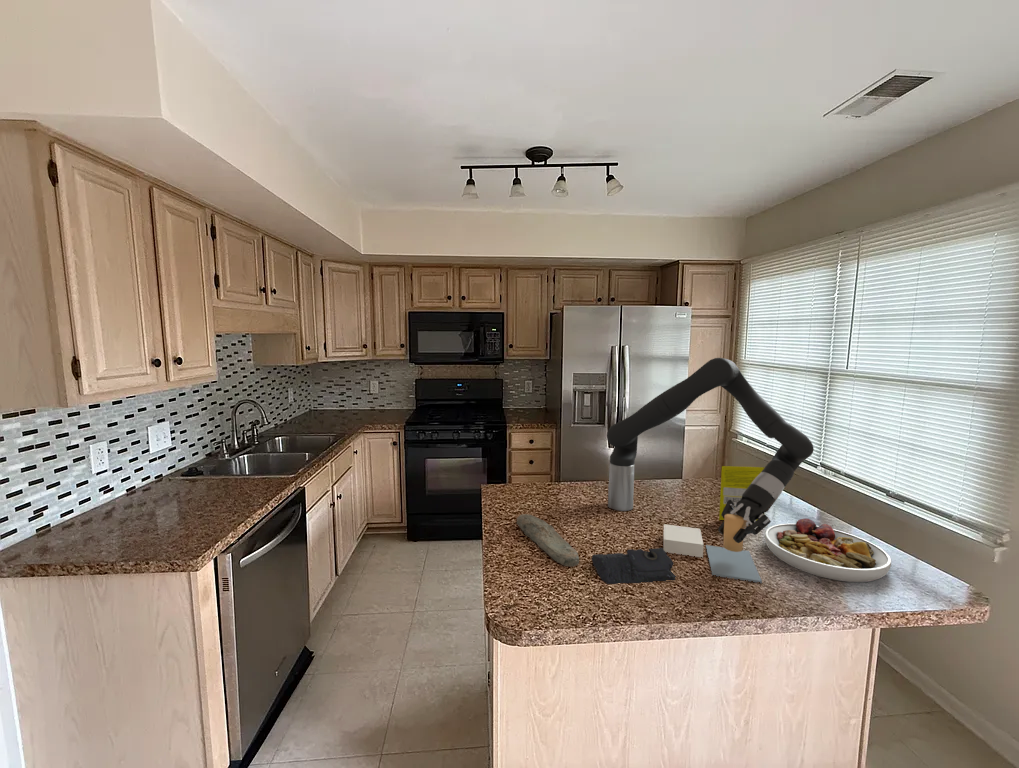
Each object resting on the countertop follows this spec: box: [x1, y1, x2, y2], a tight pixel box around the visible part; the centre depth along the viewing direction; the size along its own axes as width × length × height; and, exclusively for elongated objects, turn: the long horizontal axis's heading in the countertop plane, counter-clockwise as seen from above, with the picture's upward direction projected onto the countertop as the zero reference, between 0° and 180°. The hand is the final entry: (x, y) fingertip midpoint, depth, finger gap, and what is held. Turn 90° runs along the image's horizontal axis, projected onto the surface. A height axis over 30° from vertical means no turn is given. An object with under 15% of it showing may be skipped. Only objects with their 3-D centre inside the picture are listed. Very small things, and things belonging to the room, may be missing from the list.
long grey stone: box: [516, 513, 580, 567], centre depth 141 cm, size 35×5×10 cm
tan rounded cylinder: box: [722, 514, 744, 552], centre depth 126 cm, size 5×5×9 cm
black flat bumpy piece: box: [591, 547, 677, 585], centre depth 124 cm, size 15×22×5 cm
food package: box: [718, 465, 766, 521], centre depth 157 cm, size 15×1×20 cm, turn 84°
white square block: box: [662, 523, 704, 558], centre depth 138 cm, size 11×12×4 cm
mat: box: [705, 544, 763, 584], centre depth 127 cm, size 12×18×1 cm, turn 161°
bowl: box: [764, 518, 892, 583], centre depth 130 cm, size 30×30×8 cm
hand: (728, 536), depth 126 cm, fingers closed on tan rounded cylinder, 5 cm apart
